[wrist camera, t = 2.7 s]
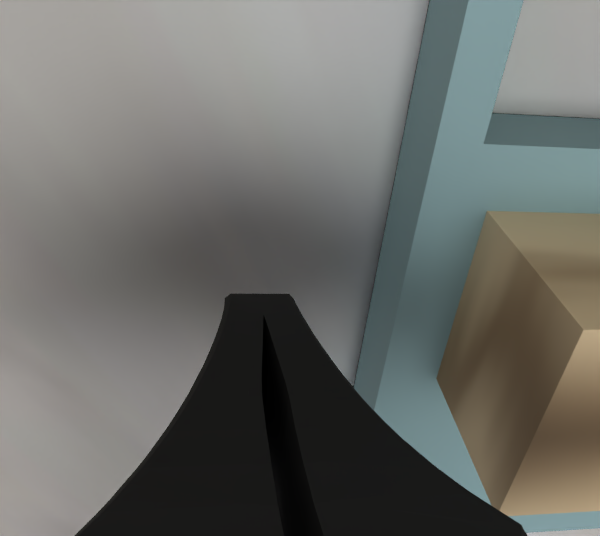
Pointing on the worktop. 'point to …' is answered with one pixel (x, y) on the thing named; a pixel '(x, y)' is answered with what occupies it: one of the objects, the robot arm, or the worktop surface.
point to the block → (530, 362)
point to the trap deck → (460, 222)
